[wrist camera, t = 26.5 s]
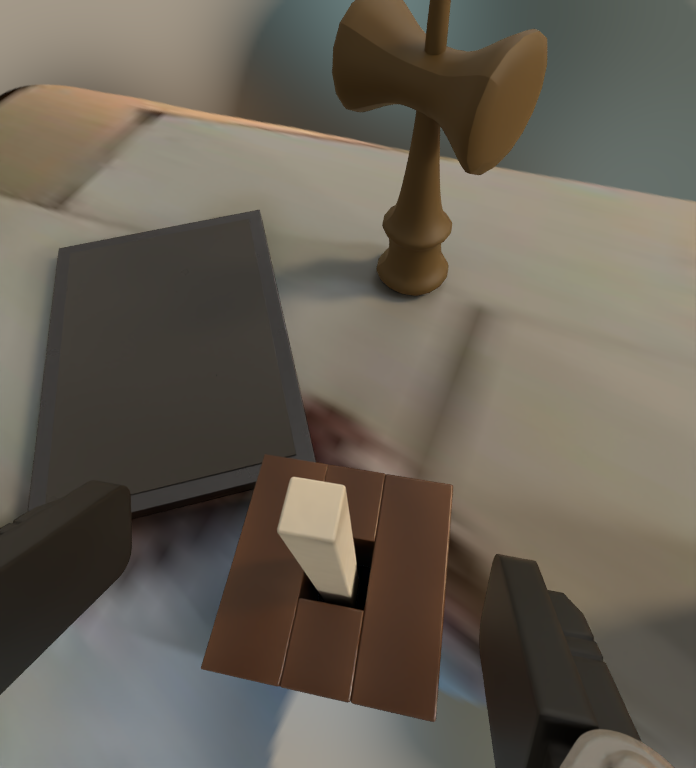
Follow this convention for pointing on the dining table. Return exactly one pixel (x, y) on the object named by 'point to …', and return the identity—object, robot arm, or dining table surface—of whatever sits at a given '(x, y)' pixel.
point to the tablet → (167, 367)
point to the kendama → (434, 115)
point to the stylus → (321, 538)
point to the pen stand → (333, 622)
